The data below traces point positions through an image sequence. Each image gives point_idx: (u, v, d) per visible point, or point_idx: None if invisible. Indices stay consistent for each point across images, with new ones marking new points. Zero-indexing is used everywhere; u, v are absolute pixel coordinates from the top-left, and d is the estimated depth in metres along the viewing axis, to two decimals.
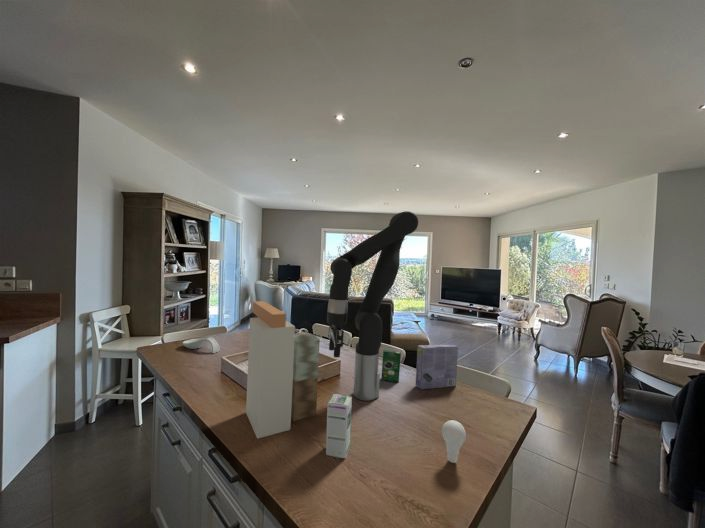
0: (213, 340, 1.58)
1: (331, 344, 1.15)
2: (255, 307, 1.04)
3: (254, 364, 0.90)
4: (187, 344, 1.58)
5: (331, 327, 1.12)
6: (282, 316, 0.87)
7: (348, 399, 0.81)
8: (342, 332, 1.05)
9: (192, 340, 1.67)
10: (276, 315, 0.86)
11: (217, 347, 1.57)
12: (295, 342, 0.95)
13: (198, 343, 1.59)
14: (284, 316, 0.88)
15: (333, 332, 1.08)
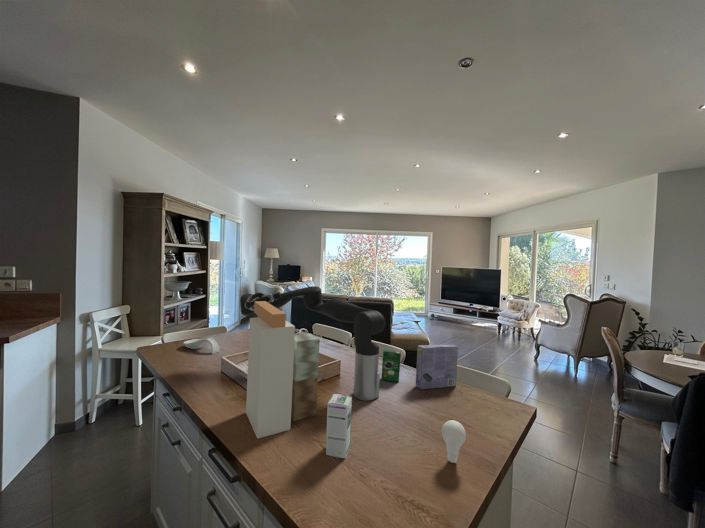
0: (213, 340, 1.57)
1: (275, 297, 1.20)
2: (256, 307, 1.05)
3: (254, 364, 0.90)
4: (187, 344, 1.58)
5: None
6: (281, 316, 0.87)
7: (348, 399, 0.81)
8: (244, 304, 1.20)
9: (193, 340, 1.67)
10: (276, 315, 0.86)
11: (217, 347, 1.56)
12: (295, 342, 0.95)
13: (198, 343, 1.58)
14: (284, 316, 0.88)
15: None
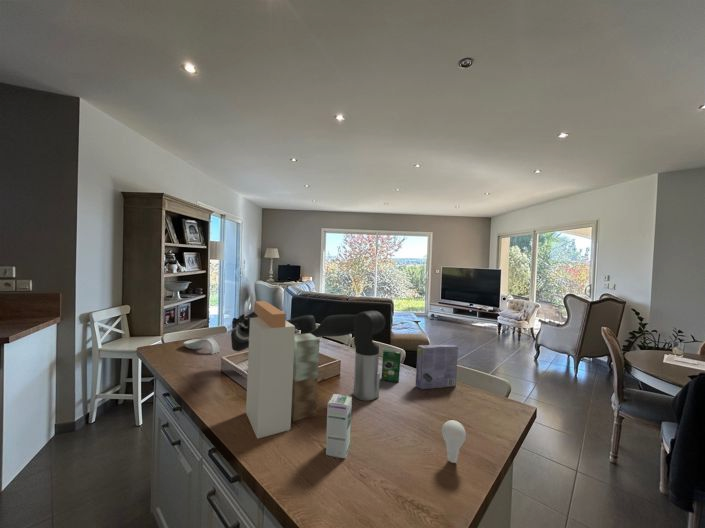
0: (213, 341, 1.57)
1: None
2: (256, 307, 1.05)
3: (254, 364, 0.90)
4: (187, 344, 1.58)
5: None
6: (281, 316, 0.87)
7: (348, 399, 0.81)
8: None
9: (193, 340, 1.67)
10: (276, 315, 0.86)
11: (217, 348, 1.56)
12: (295, 342, 0.95)
13: (198, 343, 1.58)
14: (284, 316, 0.88)
15: None
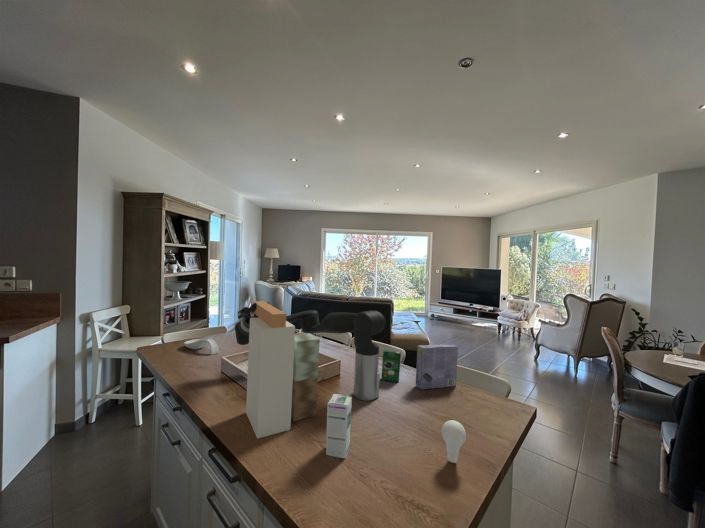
0: (212, 341, 1.56)
1: None
2: None
3: (254, 364, 0.90)
4: (188, 344, 1.58)
5: None
6: (282, 316, 0.87)
7: (348, 399, 0.81)
8: (238, 312, 1.08)
9: (195, 340, 1.67)
10: (276, 315, 0.86)
11: (216, 348, 1.55)
12: (295, 342, 0.95)
13: (198, 344, 1.58)
14: (284, 316, 0.88)
15: (251, 317, 1.10)
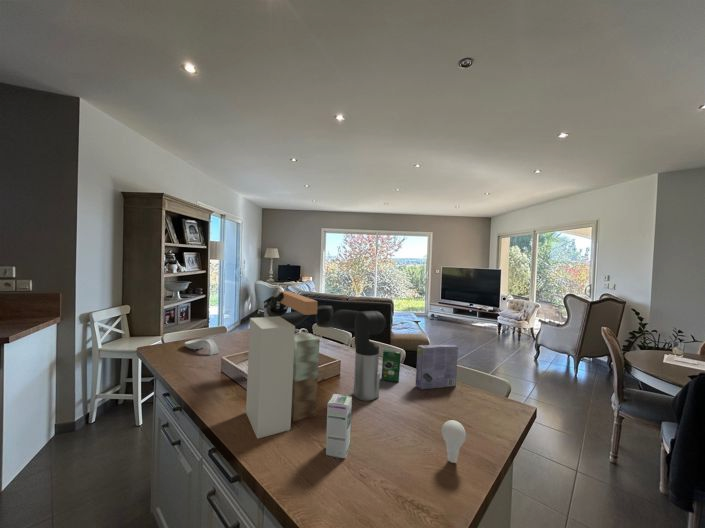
0: (212, 341, 1.55)
1: None
2: None
3: (254, 364, 0.90)
4: (188, 344, 1.57)
5: None
6: (314, 304, 0.90)
7: (348, 399, 0.81)
8: (264, 302, 1.11)
9: (195, 340, 1.67)
10: (308, 302, 0.89)
11: (215, 349, 1.54)
12: (295, 342, 0.95)
13: (198, 344, 1.57)
14: (316, 303, 0.91)
15: (276, 307, 1.12)
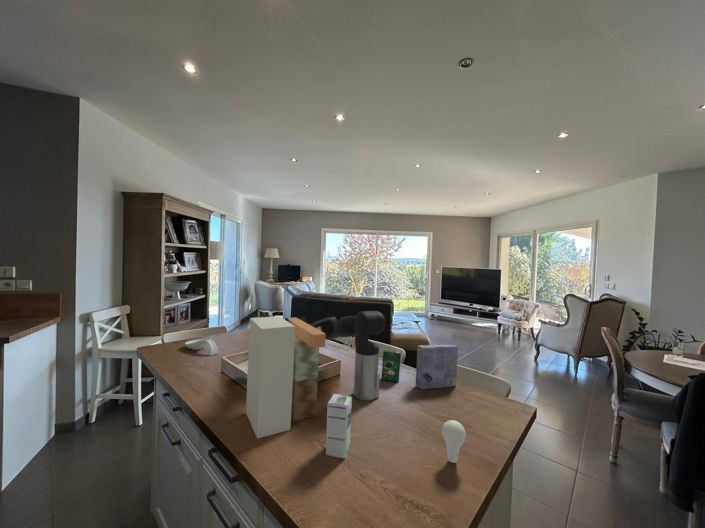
0: (212, 342, 1.55)
1: None
2: None
3: (254, 364, 0.90)
4: (188, 345, 1.57)
5: None
6: (322, 336, 0.89)
7: (348, 399, 0.81)
8: None
9: (196, 341, 1.67)
10: (317, 335, 0.88)
11: (215, 349, 1.53)
12: (295, 342, 0.95)
13: (198, 344, 1.57)
14: (324, 336, 0.90)
15: None
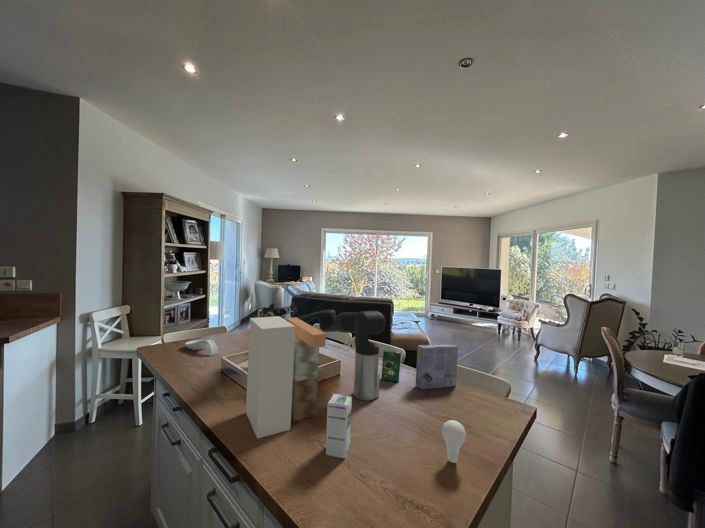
0: (212, 342, 1.54)
1: (291, 307, 1.22)
2: None
3: (254, 364, 0.90)
4: (188, 345, 1.57)
5: (280, 316, 1.26)
6: (322, 336, 0.89)
7: (348, 399, 0.81)
8: (261, 312, 1.23)
9: (196, 341, 1.66)
10: (317, 335, 0.88)
11: (215, 349, 1.53)
12: (295, 342, 0.95)
13: (198, 344, 1.56)
14: (324, 336, 0.90)
15: (273, 316, 1.24)
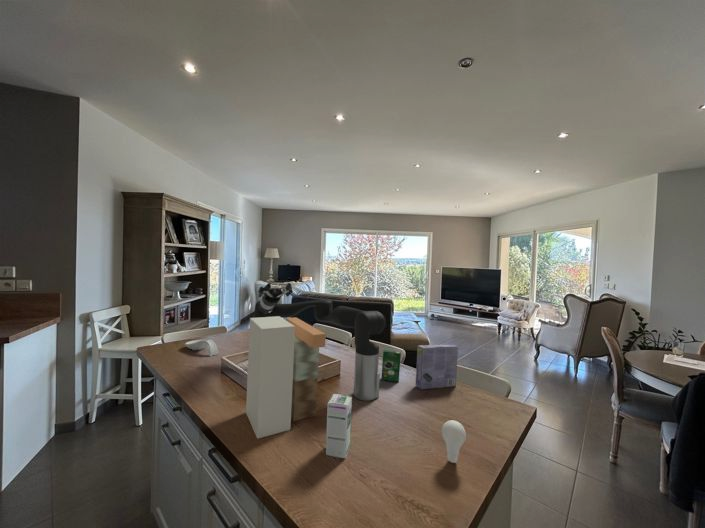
0: (212, 342, 1.54)
1: (287, 287, 1.28)
2: None
3: (254, 364, 0.90)
4: (188, 345, 1.56)
5: None
6: (322, 336, 0.89)
7: (348, 399, 0.81)
8: (258, 292, 1.29)
9: (196, 341, 1.66)
10: (317, 335, 0.88)
11: (215, 350, 1.52)
12: (295, 342, 0.95)
13: (198, 344, 1.56)
14: (324, 336, 0.90)
15: (269, 295, 1.29)
